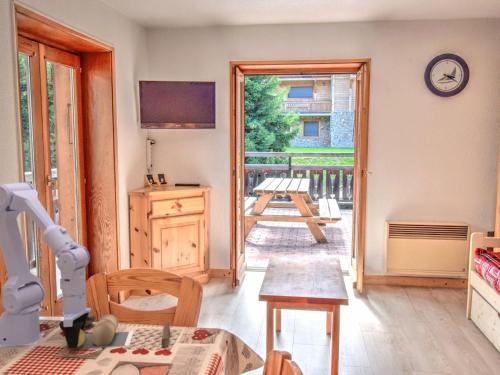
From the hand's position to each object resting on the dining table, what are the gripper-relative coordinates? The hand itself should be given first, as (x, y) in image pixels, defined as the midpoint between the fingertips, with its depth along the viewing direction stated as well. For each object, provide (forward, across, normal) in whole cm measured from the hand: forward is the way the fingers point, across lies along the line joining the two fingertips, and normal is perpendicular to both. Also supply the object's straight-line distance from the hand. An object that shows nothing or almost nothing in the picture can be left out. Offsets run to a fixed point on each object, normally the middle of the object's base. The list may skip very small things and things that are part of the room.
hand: (75, 343), depth 120 cm
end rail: (+2, +4, -24) cm, 24 cm away
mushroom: (+2, +14, +2) cm, 14 cm away
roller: (+2, +4, -7) cm, 8 cm away
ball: (+1, 0, 0) cm, 1 cm away
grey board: (+2, +4, -6) cm, 7 cm away
